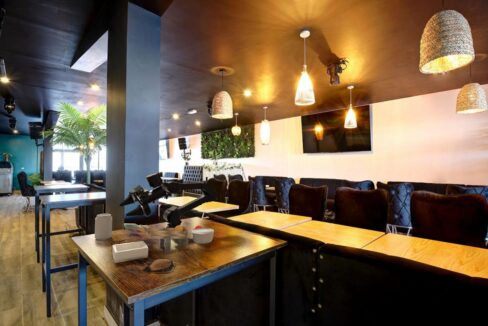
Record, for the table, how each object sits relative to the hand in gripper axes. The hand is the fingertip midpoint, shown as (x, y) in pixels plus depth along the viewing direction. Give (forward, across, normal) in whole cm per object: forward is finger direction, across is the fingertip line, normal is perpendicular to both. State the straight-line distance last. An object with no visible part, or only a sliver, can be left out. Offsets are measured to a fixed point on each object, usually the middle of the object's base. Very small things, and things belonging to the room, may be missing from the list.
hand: (122, 210), depth 114 cm
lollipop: (-30, +15, +27) cm, 43 cm away
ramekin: (-25, +27, +20) cm, 41 cm away
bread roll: (0, +41, +1) cm, 41 cm away
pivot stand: (-6, +26, +10) cm, 29 cm away
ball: (-16, +24, +6) cm, 29 cm away
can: (+12, -8, +16) cm, 22 cm away
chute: (-5, +18, +9) cm, 21 cm away
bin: (+6, +23, +6) cm, 24 cm away
